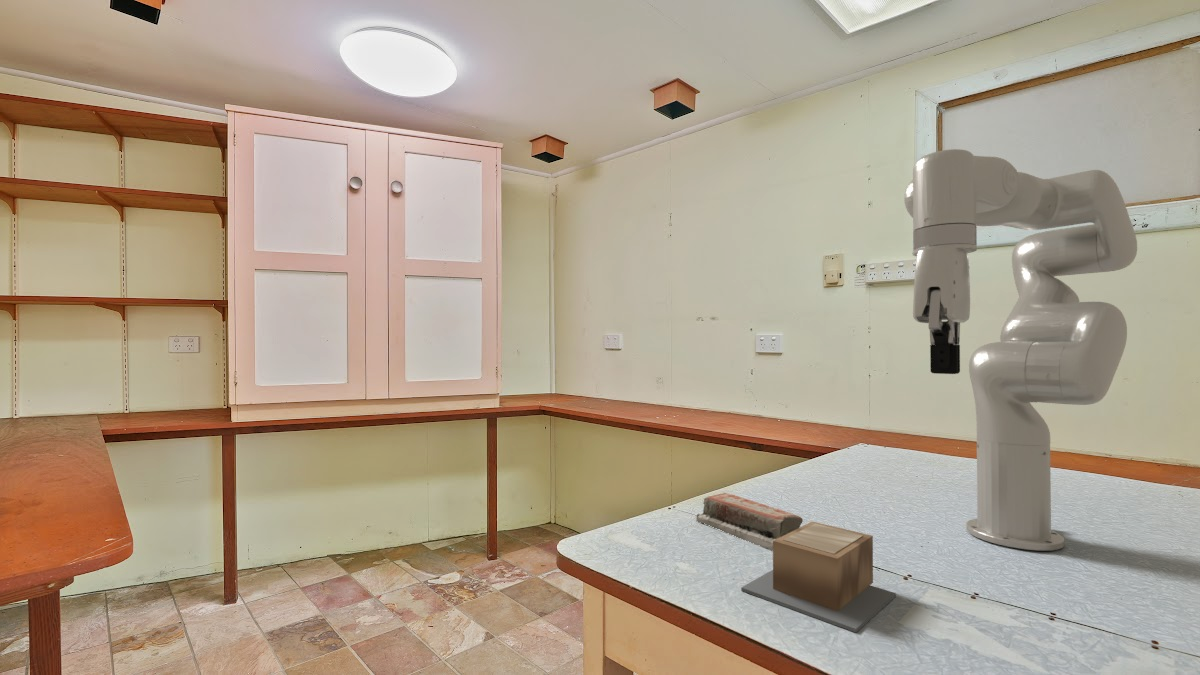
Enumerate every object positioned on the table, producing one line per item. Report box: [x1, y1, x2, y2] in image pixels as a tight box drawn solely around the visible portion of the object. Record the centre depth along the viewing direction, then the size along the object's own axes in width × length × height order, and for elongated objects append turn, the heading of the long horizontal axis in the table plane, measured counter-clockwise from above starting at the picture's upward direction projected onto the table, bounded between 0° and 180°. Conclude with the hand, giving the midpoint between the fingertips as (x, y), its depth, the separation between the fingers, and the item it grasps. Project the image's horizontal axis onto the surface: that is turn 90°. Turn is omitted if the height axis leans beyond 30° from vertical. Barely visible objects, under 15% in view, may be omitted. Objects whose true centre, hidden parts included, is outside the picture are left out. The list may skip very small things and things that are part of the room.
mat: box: [740, 569, 897, 633], centre depth 68 cm, size 12×14×1 cm
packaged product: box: [695, 492, 803, 551], centre depth 92 cm, size 18×5×10 cm
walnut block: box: [772, 521, 874, 611], centre depth 69 cm, size 6×8×11 cm
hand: (945, 373), depth 76 cm, fingers closed
